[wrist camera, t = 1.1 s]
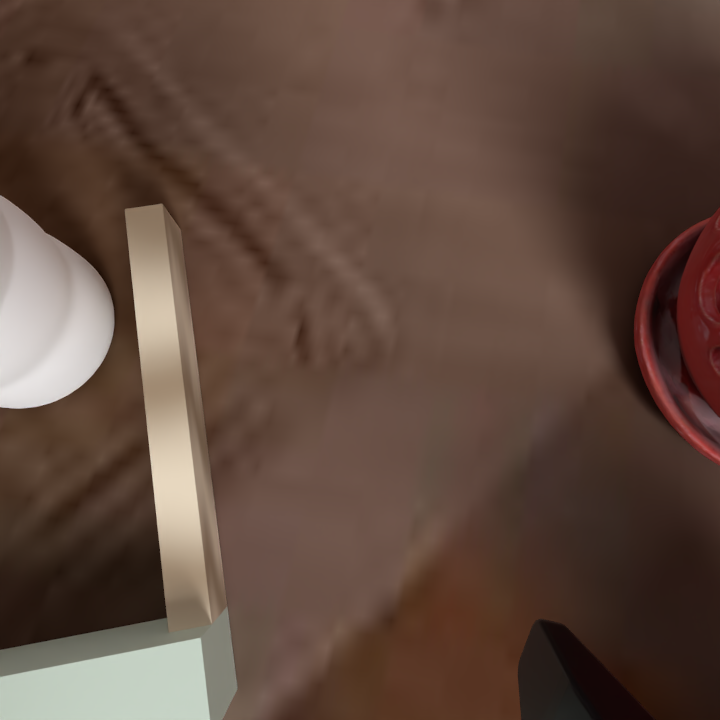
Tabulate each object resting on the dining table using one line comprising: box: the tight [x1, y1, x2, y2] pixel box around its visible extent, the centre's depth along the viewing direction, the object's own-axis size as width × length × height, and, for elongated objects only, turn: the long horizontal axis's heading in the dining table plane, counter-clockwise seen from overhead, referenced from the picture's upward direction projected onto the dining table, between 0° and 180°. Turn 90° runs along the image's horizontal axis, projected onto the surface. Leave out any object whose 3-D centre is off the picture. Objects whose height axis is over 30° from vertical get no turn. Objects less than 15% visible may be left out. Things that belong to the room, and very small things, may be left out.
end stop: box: [0, 607, 238, 720], centre depth 19 cm, size 3×13×4 cm, turn 100°
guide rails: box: [125, 204, 227, 633], centre depth 21 cm, size 16×13×2 cm
